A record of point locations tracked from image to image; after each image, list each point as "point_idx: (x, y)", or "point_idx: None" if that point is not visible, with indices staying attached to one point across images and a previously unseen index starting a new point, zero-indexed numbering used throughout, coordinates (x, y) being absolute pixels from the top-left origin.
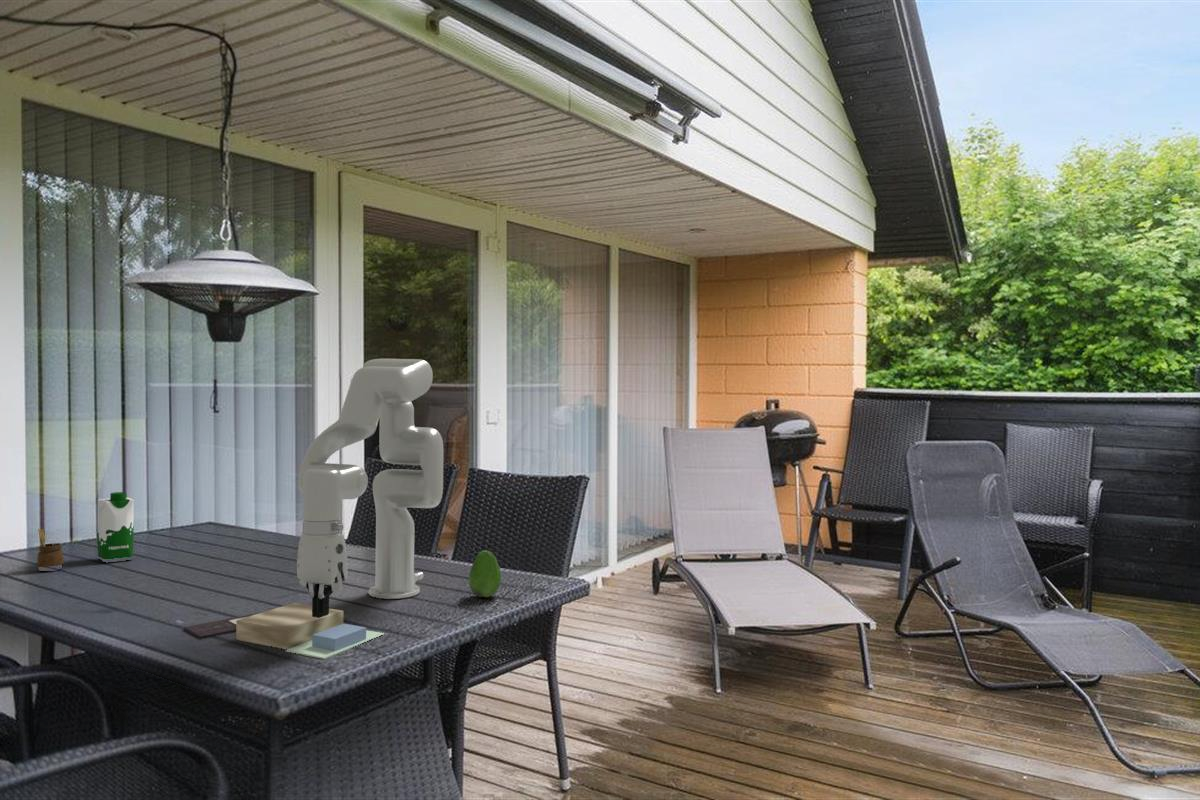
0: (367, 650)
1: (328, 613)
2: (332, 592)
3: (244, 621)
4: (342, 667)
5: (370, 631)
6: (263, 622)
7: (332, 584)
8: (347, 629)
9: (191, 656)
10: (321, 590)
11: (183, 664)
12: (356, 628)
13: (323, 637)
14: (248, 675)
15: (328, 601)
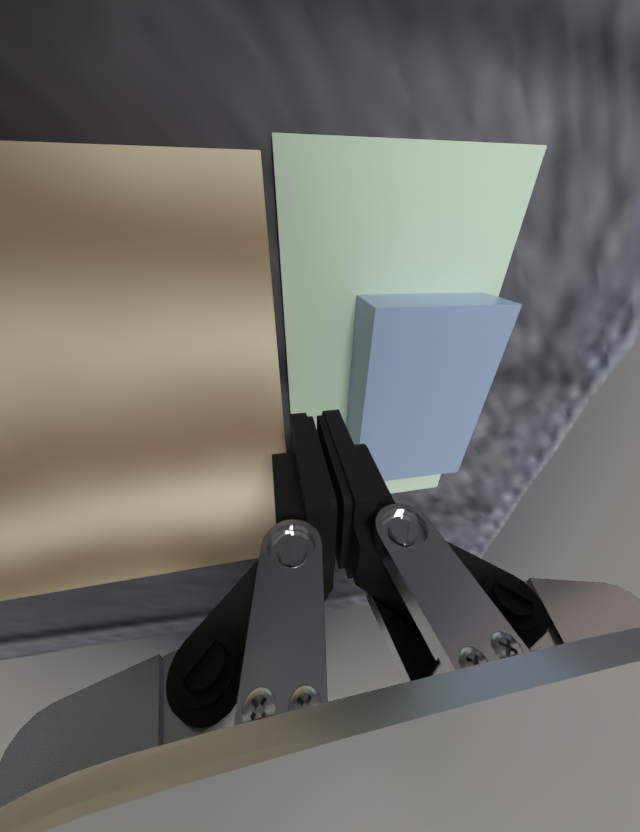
0: (521, 376)
1: (337, 411)
2: (464, 553)
3: (41, 592)
4: (500, 489)
5: (455, 156)
6: (119, 562)
7: (504, 631)
8: (446, 374)
9: (133, 613)
10: (417, 643)
11: (180, 627)
12: (479, 341)
13: (406, 476)
14: (346, 588)
15: (386, 490)
